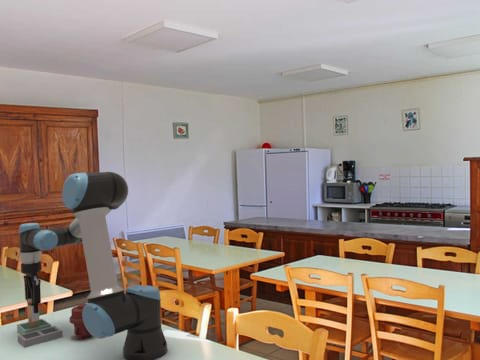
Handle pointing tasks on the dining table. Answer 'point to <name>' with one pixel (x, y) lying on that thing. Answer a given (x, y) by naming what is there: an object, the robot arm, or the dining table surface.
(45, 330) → the socket block
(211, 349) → the dining table surface
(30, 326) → the fuse
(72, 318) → the mechanical component
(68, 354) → the dining table surface
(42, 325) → the parts tray
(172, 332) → the dining table surface
